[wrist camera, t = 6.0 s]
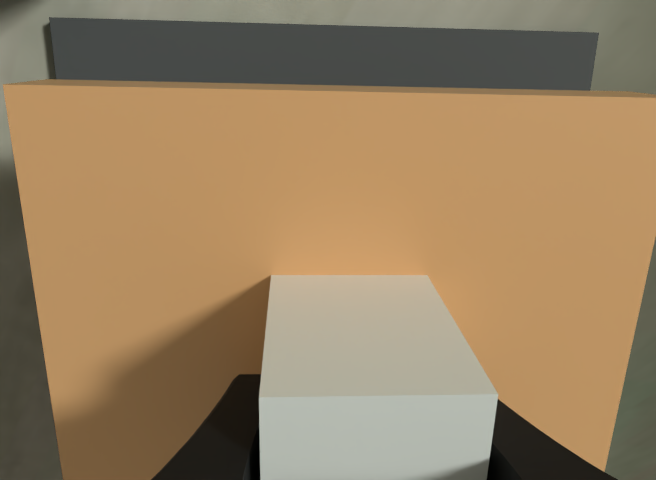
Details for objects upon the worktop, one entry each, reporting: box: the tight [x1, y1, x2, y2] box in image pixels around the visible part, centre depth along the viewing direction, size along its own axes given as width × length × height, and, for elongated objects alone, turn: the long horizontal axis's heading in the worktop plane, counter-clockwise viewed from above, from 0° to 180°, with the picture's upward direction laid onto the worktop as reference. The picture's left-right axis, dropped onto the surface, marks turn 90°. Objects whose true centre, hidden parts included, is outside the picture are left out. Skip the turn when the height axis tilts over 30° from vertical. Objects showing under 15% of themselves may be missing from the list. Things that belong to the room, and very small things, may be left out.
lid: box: [3, 79, 656, 480], centre depth 11 cm, size 12×12×6 cm
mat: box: [49, 17, 599, 91], centre depth 18 cm, size 15×15×1 cm
